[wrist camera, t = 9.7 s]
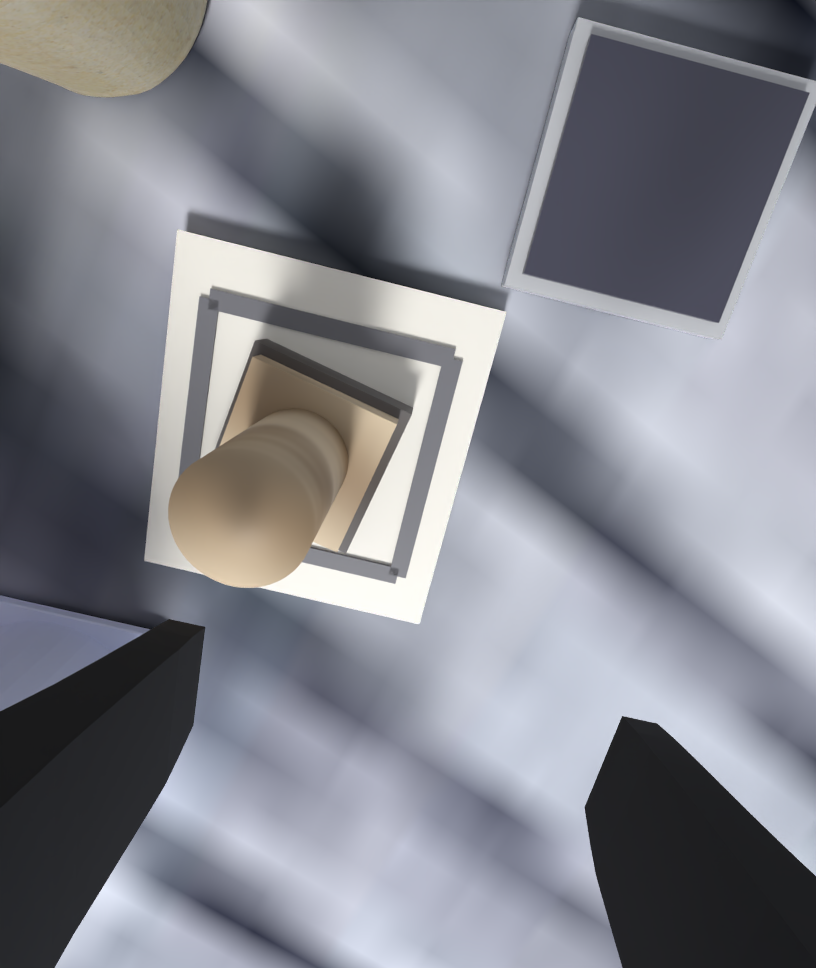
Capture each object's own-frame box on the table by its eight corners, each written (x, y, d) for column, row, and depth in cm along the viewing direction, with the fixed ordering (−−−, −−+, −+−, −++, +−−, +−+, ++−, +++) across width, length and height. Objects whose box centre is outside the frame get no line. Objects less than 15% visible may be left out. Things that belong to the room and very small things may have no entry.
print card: (419, 615, 20) (419, 625, 20) (152, 553, 20) (142, 562, 19) (503, 311, 17) (507, 311, 16) (185, 231, 17) (175, 228, 16)
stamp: (351, 538, 19) (307, 662, 12) (214, 478, 18) (91, 572, 12) (413, 407, 18) (402, 467, 11) (266, 338, 17) (161, 355, 10)
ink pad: (706, 338, 17) (726, 340, 16) (500, 286, 17) (505, 284, 16) (801, 96, 15) (832, 78, 14) (569, 34, 15) (581, 10, 14)
